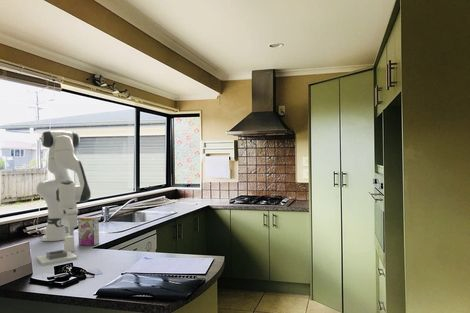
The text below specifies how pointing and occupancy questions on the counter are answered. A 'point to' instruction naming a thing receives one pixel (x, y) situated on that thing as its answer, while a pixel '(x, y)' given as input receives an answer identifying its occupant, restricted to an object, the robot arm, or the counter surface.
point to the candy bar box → (88, 230)
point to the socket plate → (56, 257)
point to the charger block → (69, 243)
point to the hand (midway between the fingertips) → (69, 234)
